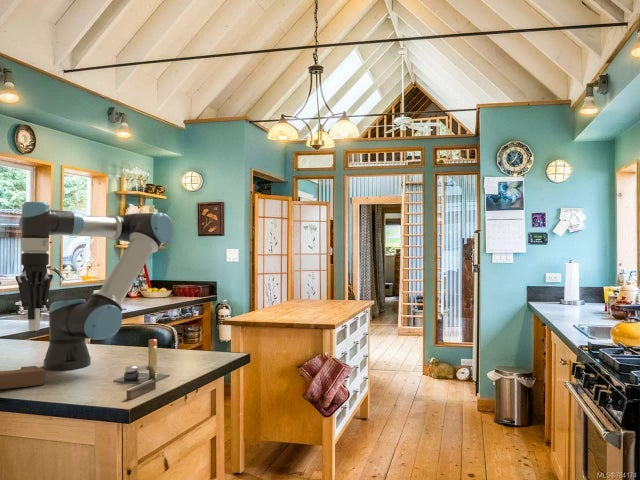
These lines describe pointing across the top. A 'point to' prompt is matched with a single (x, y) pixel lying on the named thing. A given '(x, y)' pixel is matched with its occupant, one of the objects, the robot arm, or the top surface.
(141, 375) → the crank base
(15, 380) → the wooden block
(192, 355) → the top surface
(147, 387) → the batten
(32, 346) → the top surface
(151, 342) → the crank
